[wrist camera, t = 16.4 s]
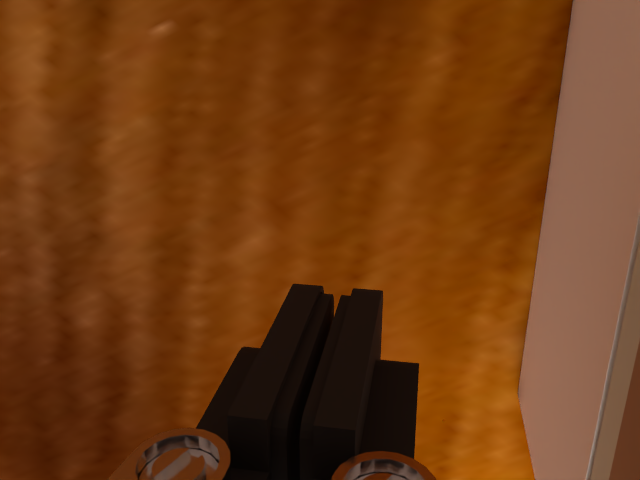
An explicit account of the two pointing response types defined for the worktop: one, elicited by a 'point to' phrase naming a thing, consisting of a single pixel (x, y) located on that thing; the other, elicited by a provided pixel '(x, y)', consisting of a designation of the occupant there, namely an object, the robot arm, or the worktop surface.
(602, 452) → the toolbox lid
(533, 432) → the toolbox
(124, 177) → the worktop surface
